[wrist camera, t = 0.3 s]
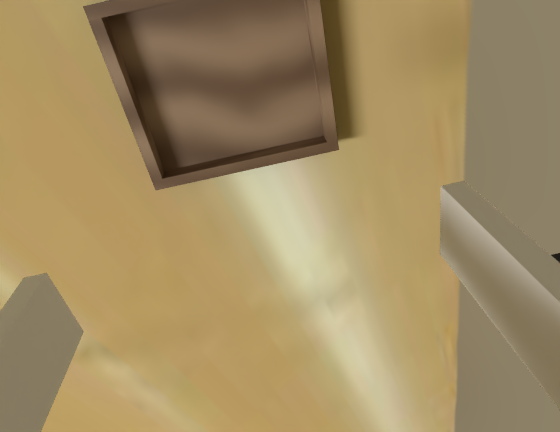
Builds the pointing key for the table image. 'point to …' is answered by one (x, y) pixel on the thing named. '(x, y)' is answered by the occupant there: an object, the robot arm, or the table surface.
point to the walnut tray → (218, 82)
